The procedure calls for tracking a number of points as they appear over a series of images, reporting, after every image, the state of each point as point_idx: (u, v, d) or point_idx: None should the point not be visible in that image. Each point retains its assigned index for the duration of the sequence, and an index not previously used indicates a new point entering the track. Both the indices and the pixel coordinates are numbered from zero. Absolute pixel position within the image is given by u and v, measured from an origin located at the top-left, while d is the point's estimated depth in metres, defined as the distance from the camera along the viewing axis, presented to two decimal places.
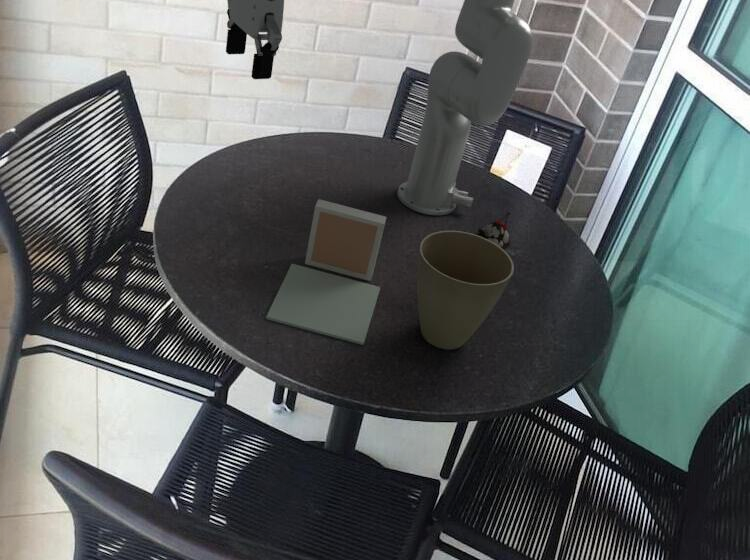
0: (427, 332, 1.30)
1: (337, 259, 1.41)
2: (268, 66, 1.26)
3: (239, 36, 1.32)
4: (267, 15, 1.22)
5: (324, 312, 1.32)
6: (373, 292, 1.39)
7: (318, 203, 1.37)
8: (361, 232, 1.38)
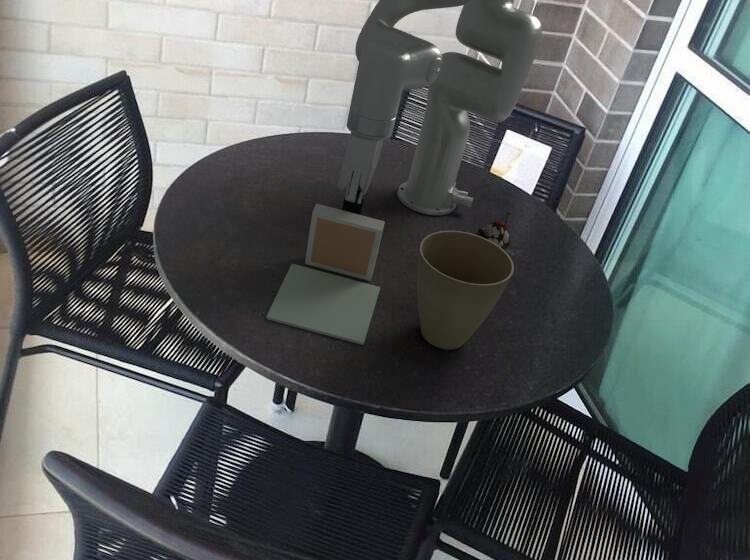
0: (427, 332, 1.30)
1: (336, 261, 1.41)
2: None
3: None
4: None
5: (324, 312, 1.32)
6: (373, 292, 1.39)
7: (315, 209, 1.36)
8: (359, 237, 1.36)
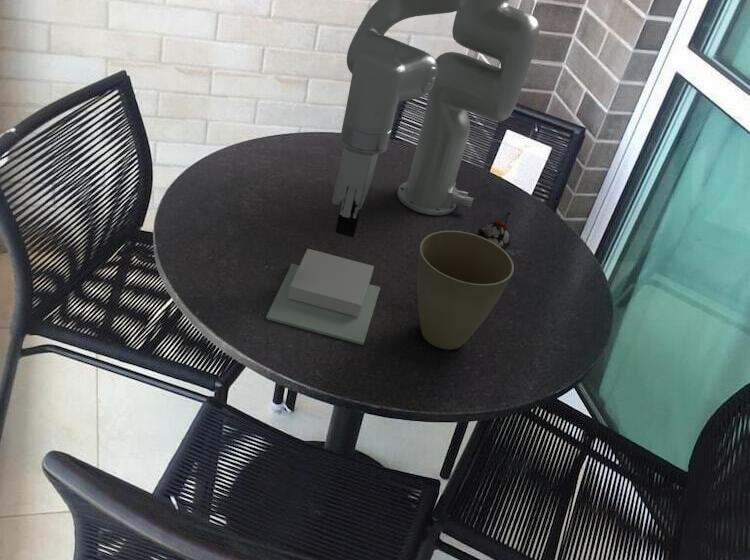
0: (427, 332, 1.30)
1: None
2: None
3: None
4: None
5: (324, 312, 1.32)
6: (373, 292, 1.39)
7: (290, 293, 1.32)
8: None
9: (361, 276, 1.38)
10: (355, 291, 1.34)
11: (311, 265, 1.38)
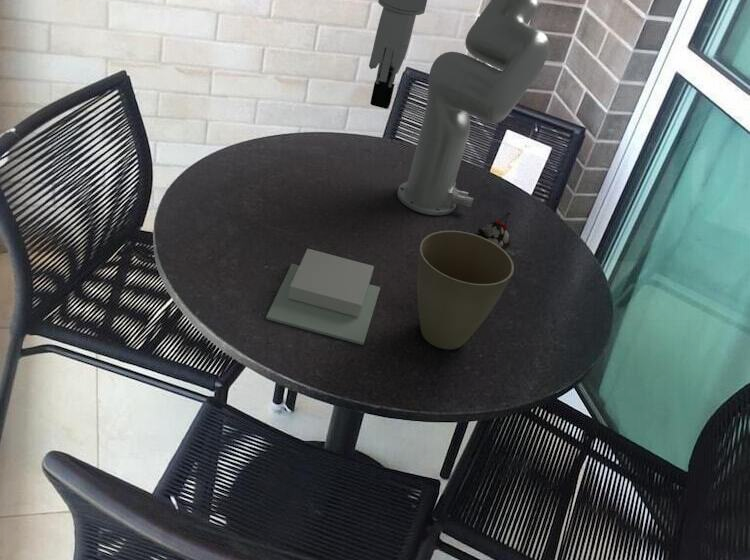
0: (427, 332, 1.30)
1: None
2: None
3: None
4: None
5: (324, 312, 1.32)
6: (373, 292, 1.39)
7: (290, 293, 1.32)
8: None
9: (361, 276, 1.38)
10: (355, 291, 1.34)
11: (311, 265, 1.38)
